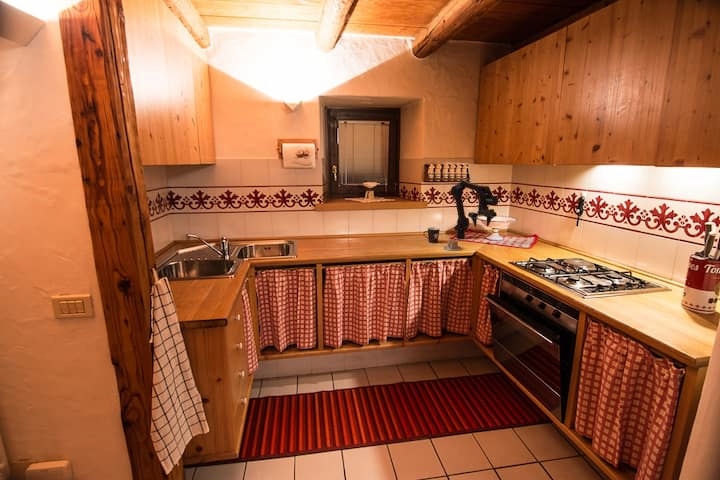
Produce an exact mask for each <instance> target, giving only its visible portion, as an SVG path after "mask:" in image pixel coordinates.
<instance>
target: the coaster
mask: <svg viewBox="0 0 720 480" xmlns="http://www.w3.org/2000/svg"><path fill="white" fill-rule="evenodd" d="M443 250H445V251H451V252H458V251H461V250H463V248H462V246H459V245H458V249H451V248H449V247H448V245H443Z"/></svg>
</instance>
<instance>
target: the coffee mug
mask: <svg viewBox="0 0 720 480" xmlns="http://www.w3.org/2000/svg"><path fill="white" fill-rule="evenodd" d="M440 231H441V229H440V228H439V227H435V226H433V227H427V230H425V231H423V236H424V238H426V239H428V243H429V244H437V243H439V236H440ZM426 232H427V236H426V235H425V233H426Z"/></svg>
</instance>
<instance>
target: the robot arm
mask: <svg viewBox="0 0 720 480" xmlns="http://www.w3.org/2000/svg"><path fill="white" fill-rule="evenodd" d="M466 189H469V190H472V191H475V192H476V193H477V194H478V195H476V198H478V205H477V207H478V208H477V209H478V210H477V211H476V212H474V211H472V212H468V214H467V217H466V214H465V208H464V207H465V206H464V202H463V194H464V190H466ZM450 192H451V195H452V197H453V198H454V200H455V205H456V212H457V216H458V217H457V221H456V225H455V226H454V227H453V229H454V231H456V236H454V238H455V239H458V240H462V239H464V240H465V238H466V236H465V235H466V231H467V230H469V227H470V219H471V221H472V224H473V225H474V228H476V227H477V223H478V221H477V220H478V217H486V227H489V226H490V224H491V222H492V220H493V219H494V218H495V217H497V216H498V215H497V212H496V211H495V210H494V208H490V209H489V206H493V207H497V206H498V204H499V199H498V197H497V195H494V194H493V193H492V190H491V188H490V186H489V185H479V184H477V183H474V182H470V181H468V180H461V181H460V182H458V183H457V184H455V185H453V186H451V189H450Z"/></svg>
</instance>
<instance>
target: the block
mask: <svg viewBox="0 0 720 480" xmlns="http://www.w3.org/2000/svg"><path fill="white" fill-rule="evenodd" d="M447 240H448V241H447V246H448V247H449V248H451V249H458V246H459V241H458V240H456V239H453V238H452V239H447Z"/></svg>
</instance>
